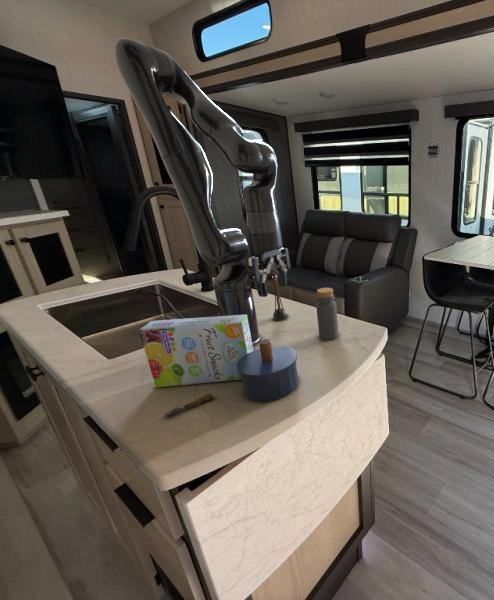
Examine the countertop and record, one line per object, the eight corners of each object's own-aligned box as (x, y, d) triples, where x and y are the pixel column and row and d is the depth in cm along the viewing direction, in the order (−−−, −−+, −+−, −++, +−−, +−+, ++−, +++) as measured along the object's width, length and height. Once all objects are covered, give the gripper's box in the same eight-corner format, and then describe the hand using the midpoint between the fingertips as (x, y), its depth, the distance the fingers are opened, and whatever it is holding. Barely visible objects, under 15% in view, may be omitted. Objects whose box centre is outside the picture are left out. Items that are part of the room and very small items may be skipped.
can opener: (212, 396, 70) (211, 392, 70) (215, 401, 68) (213, 397, 68) (163, 415, 65) (161, 410, 64) (164, 421, 63) (162, 416, 63)
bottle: (334, 341, 95) (330, 293, 90) (316, 339, 96) (311, 292, 91) (341, 332, 100) (338, 287, 95) (324, 331, 102) (320, 286, 96)
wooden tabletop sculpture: (279, 313, 115) (272, 259, 108) (291, 314, 114) (284, 260, 107) (270, 320, 110) (262, 263, 103) (282, 321, 109) (274, 264, 102)
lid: (224, 375, 68) (218, 351, 66) (262, 347, 79) (258, 326, 77) (275, 384, 65) (271, 359, 63) (307, 354, 76) (305, 332, 74)
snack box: (257, 367, 82) (247, 313, 76) (251, 379, 76) (241, 322, 71) (166, 375, 78) (150, 319, 73) (154, 389, 73) (135, 329, 68)
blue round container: (233, 397, 70) (227, 371, 68) (266, 369, 81) (262, 346, 78) (278, 405, 67) (274, 379, 65) (307, 375, 78) (304, 352, 76)
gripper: (269, 225, 86) (277, 282, 92) (230, 233, 73) (243, 298, 79) (293, 226, 85) (300, 284, 90) (258, 234, 72) (269, 301, 77)
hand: (273, 291), depth 85 cm, fingers open, 8 cm apart
